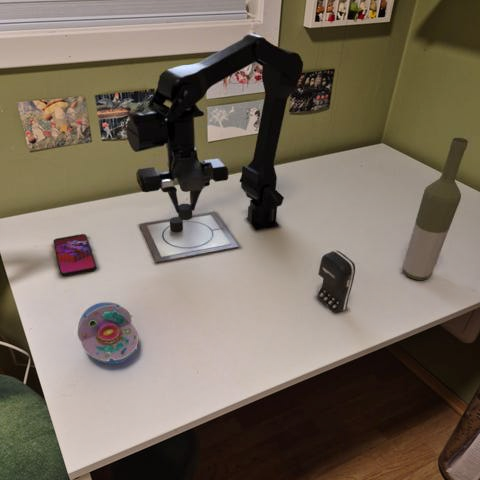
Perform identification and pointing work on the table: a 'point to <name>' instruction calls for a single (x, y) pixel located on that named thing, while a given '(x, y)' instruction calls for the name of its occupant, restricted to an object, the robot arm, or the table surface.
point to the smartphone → (74, 254)
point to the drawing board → (188, 238)
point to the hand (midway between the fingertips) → (185, 211)
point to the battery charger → (336, 280)
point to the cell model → (107, 332)
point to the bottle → (435, 217)
